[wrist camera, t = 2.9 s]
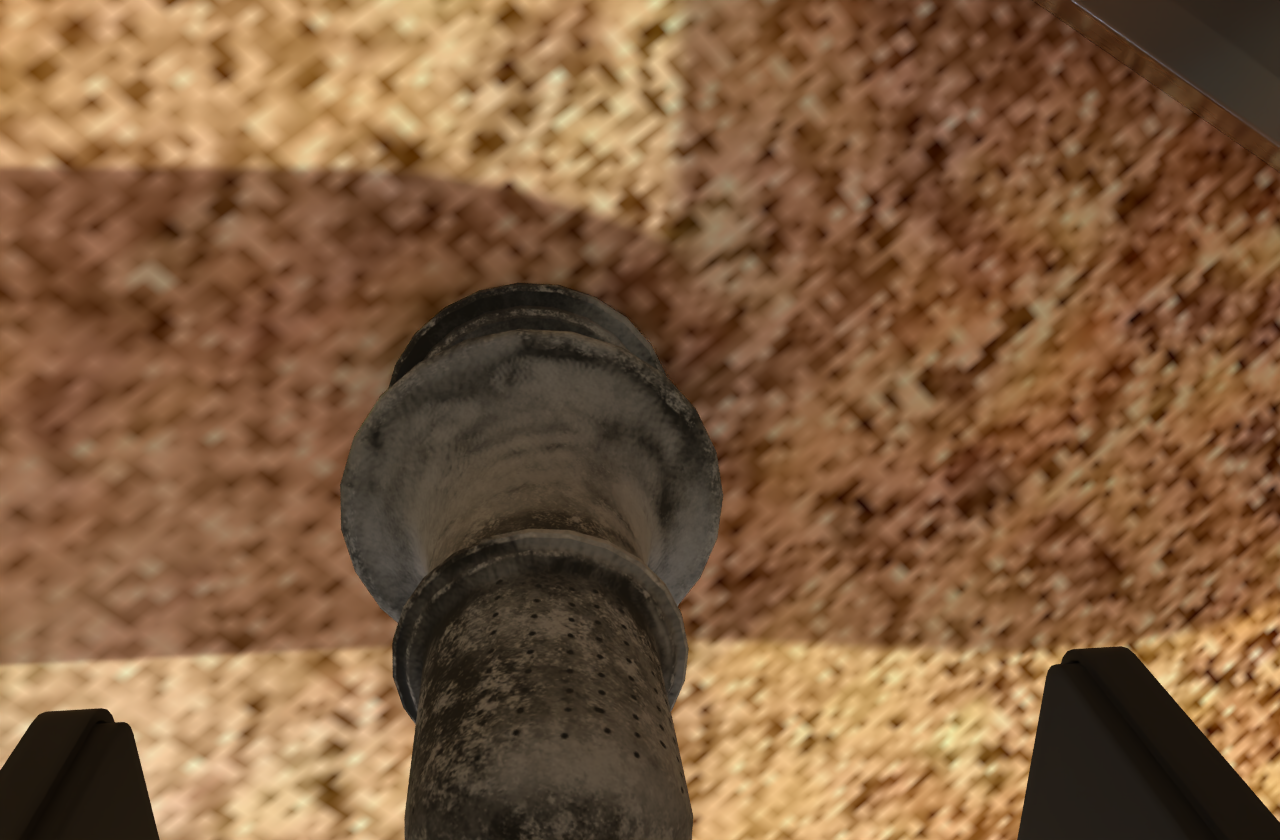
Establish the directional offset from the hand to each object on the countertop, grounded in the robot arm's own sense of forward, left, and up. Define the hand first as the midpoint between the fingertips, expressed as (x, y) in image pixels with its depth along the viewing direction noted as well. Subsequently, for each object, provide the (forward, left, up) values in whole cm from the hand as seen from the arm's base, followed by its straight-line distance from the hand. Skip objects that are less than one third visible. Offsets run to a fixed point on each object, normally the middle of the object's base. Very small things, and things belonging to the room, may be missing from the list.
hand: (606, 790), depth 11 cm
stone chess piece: (-1, 0, -10) cm, 10 cm away
